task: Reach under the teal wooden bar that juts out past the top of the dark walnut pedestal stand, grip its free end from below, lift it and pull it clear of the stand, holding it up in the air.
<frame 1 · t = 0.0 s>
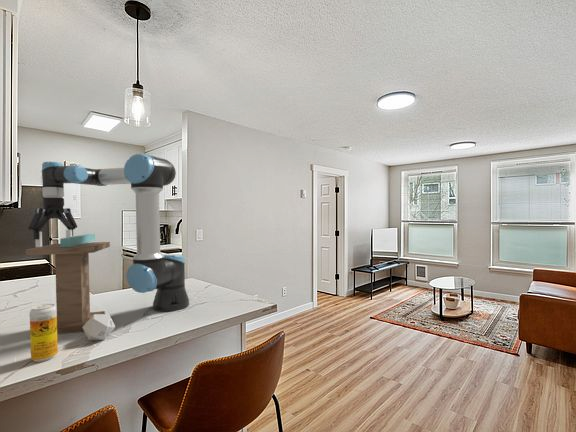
hand: (54, 245, 137), 28 cm above the countertop, tool pointing down, fingers open, 13 cm apart
walnut pedestal: (74, 325, 116), on the countertop
teal bar: (79, 243, 122), point 30 cm above the countertop, touching walnut pedestal
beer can: (44, 358, 90), on the countertop
die: (99, 339, 103), on the countertop
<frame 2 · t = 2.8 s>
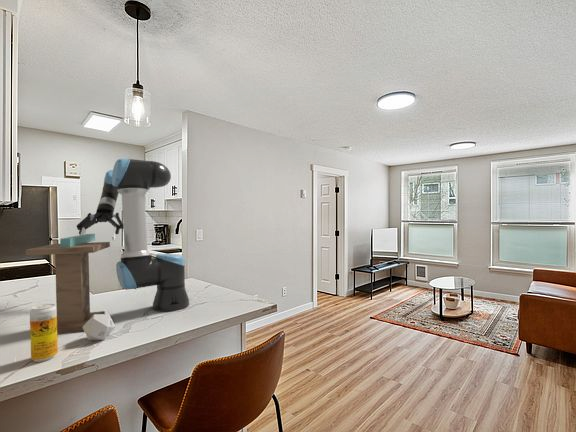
hand: (97, 239, 146), 30 cm above the countertop, tool tilted 45°, fingers open, 13 cm apart
nothing on the countertop moved.
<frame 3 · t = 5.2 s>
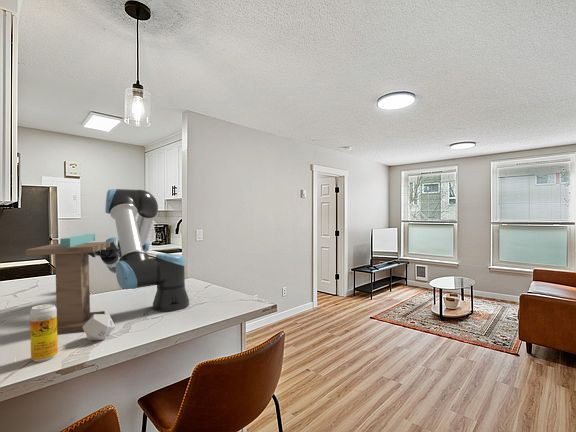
hand: (98, 241, 145), 29 cm above the countertop, tool pointing upward, fingers open, 13 cm apart
nothing on the countertop moved.
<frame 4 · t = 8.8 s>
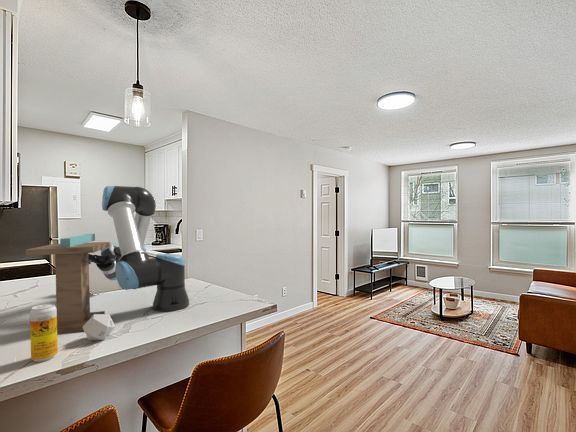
hand: (93, 247, 138), 27 cm above the countertop, tool pointing upward, fingers open, 13 cm apart
nothing on the countertop moved.
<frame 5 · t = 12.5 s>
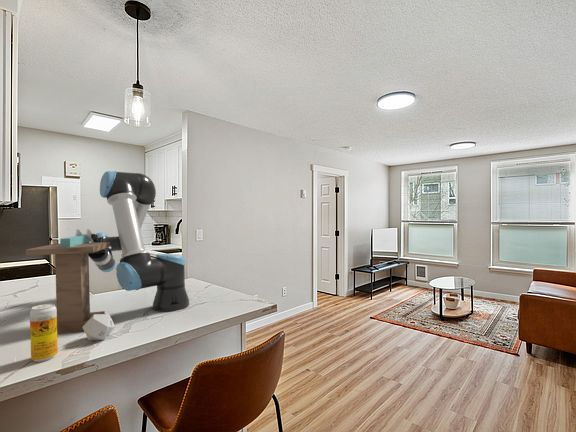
hand: (82, 232, 125), 34 cm above the countertop, tool pointing upward, fingers closed on teal bar, 3 cm apart
teal bar: (79, 243, 122), point 30 cm above the countertop, touching gripper, walnut pedestal
everything else where it was.
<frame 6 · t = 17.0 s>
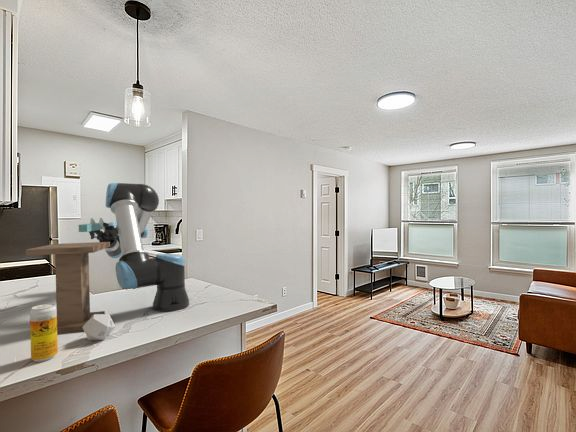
hand: (95, 220, 143), 39 cm above the countertop, tool pointing upward, fingers closed on teal bar, 3 cm apart
teal bar: (93, 230, 140), point 34 cm above the countertop, touching gripper
everything else where it was.
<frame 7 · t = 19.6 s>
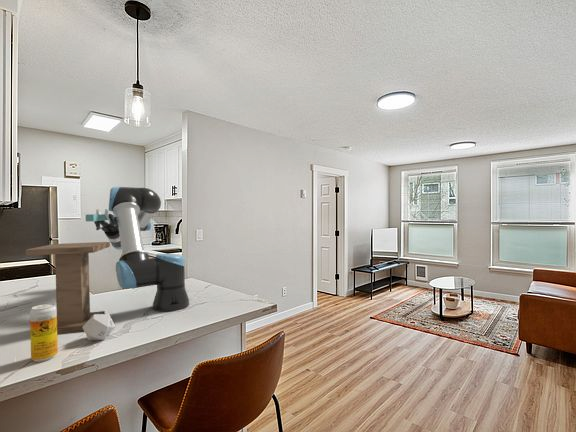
hand: (101, 211, 149), 43 cm above the countertop, tool pointing upward, fingers closed on teal bar, 3 cm apart
teal bar: (99, 220, 146), point 38 cm above the countertop, touching gripper
everything else where it was.
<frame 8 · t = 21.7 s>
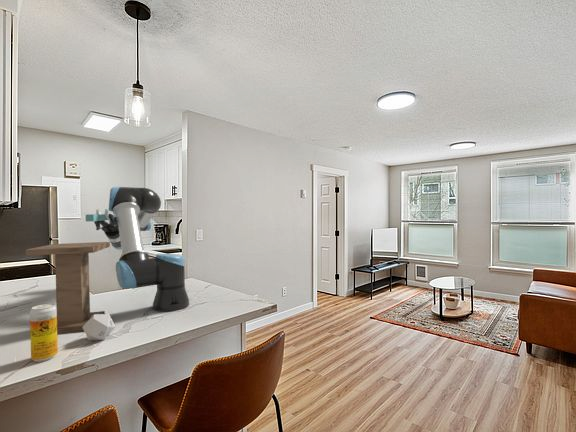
hand: (101, 211, 149), 43 cm above the countertop, tool pointing upward, fingers closed on teal bar, 3 cm apart
teal bar: (99, 220, 146), point 38 cm above the countertop, touching gripper
everything else where it was.
at the end: the gripper is holding teal bar; teal bar point 38.5 cm above the countertop; teal bar touching gripper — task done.
